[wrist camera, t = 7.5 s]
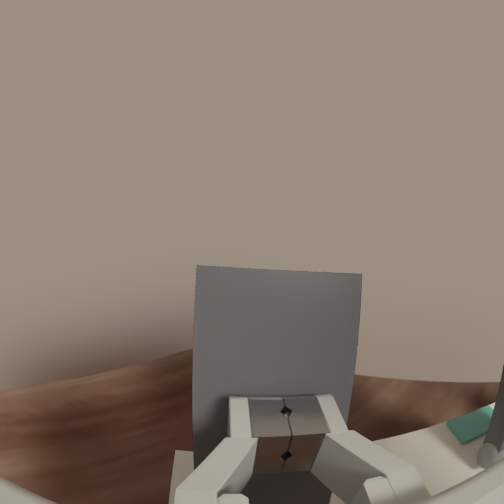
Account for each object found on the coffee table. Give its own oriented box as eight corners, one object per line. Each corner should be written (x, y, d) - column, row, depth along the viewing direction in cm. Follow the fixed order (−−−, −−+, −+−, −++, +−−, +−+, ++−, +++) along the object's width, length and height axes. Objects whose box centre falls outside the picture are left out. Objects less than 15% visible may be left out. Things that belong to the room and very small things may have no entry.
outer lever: (311, 514, 9) (343, 275, 11) (322, 537, 8) (366, 273, 9) (197, 518, 9) (197, 267, 10) (195, 544, 7) (192, 264, 8)
